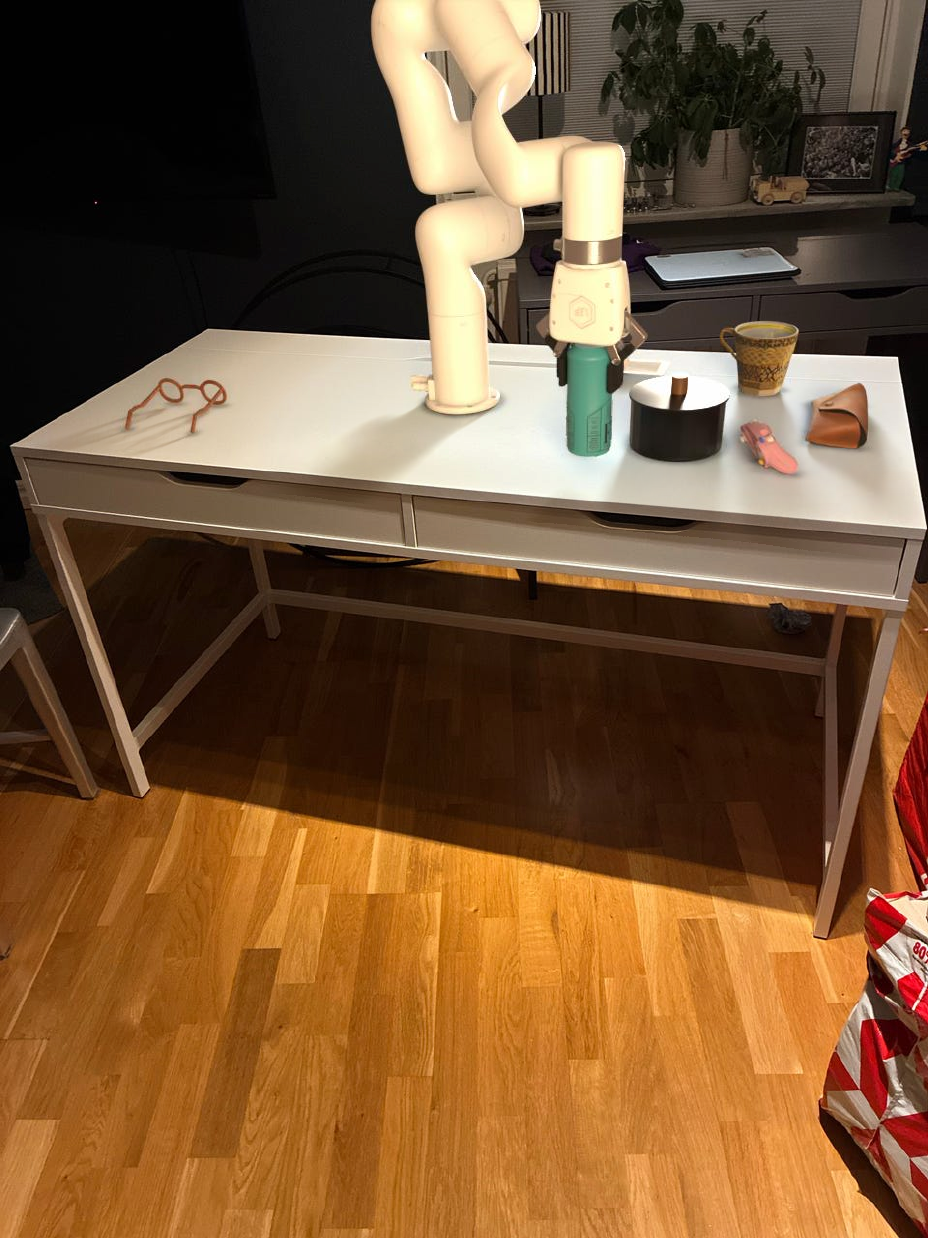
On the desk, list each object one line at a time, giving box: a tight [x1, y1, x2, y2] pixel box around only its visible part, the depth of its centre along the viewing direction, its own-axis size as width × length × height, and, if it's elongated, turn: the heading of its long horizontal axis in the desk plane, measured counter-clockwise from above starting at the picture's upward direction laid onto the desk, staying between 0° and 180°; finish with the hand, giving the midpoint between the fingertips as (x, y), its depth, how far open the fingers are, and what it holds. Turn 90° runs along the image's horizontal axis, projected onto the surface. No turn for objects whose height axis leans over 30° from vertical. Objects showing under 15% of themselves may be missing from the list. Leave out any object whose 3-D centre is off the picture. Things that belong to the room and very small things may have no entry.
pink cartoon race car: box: [739, 418, 799, 475], centre depth 131 cm, size 10×5×7 cm, turn 5°
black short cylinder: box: [629, 400, 727, 463], centre depth 138 cm, size 13×13×8 cm
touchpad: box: [624, 358, 672, 376], centre depth 168 cm, size 8×15×2 cm, turn 70°
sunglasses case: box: [805, 382, 869, 450], centre depth 142 cm, size 18×7×7 cm
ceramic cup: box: [719, 320, 800, 397], centre depth 155 cm, size 13×10×10 cm
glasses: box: [124, 377, 228, 434], centre depth 160 cm, size 13×13×5 cm
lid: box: [628, 372, 731, 413], centre depth 135 cm, size 14×14×4 cm
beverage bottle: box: [565, 343, 614, 458], centre depth 130 cm, size 6×7×20 cm
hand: (589, 385), depth 129 cm, fingers closed on beverage bottle, 6 cm apart
